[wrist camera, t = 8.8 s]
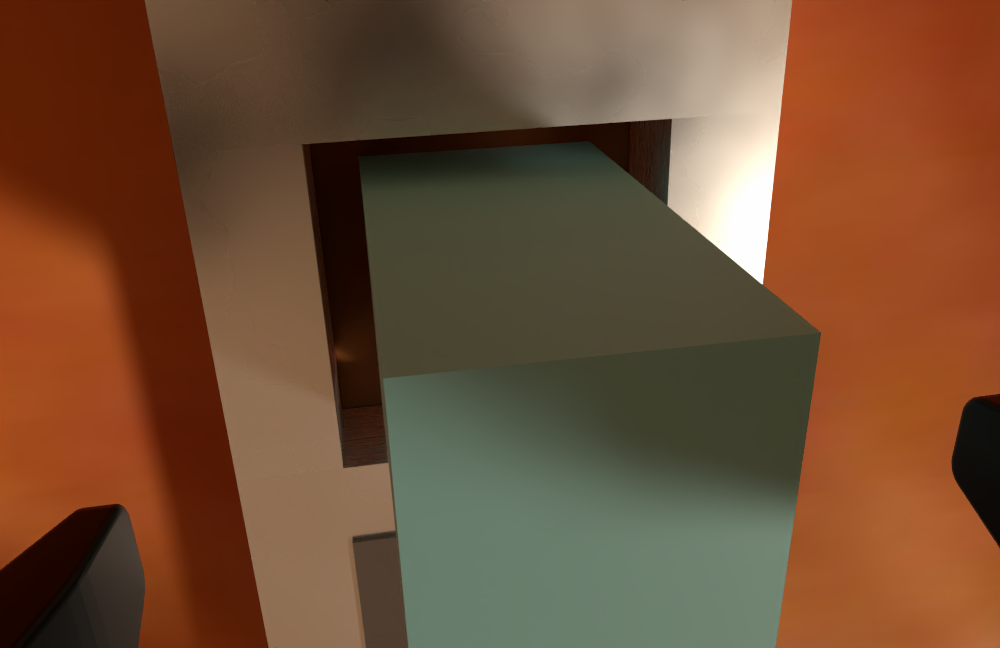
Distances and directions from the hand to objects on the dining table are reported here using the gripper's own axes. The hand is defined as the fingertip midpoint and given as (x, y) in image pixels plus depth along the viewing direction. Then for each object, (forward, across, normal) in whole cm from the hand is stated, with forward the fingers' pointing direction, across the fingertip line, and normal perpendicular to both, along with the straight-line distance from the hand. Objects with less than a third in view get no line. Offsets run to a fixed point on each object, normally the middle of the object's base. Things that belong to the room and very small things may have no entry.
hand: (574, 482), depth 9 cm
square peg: (+7, 0, 0) cm, 7 cm away
